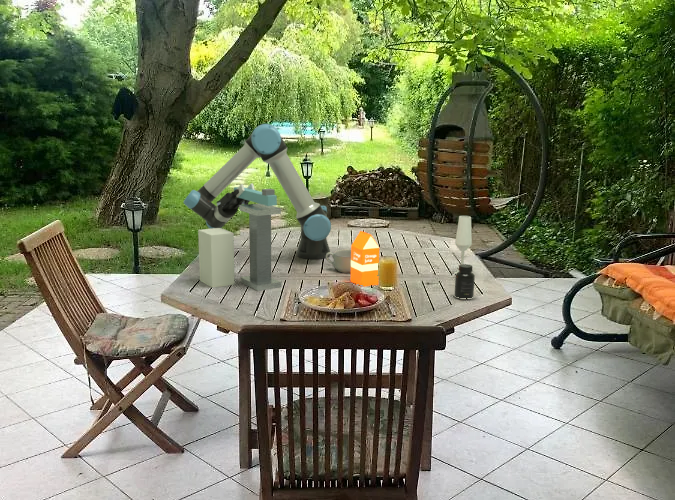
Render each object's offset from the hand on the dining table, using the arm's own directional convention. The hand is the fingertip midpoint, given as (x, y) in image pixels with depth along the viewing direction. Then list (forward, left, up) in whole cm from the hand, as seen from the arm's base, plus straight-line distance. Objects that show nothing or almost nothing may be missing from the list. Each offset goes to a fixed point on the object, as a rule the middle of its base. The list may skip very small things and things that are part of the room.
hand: (247, 187), depth 245 cm
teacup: (-38, -13, -37) cm, 54 cm away
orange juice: (-45, +6, -37) cm, 58 cm away
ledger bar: (-3, +5, -5) cm, 7 cm away
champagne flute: (-87, -7, -36) cm, 94 cm away
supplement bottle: (-79, +26, -37) cm, 91 cm away
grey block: (+12, +5, -36) cm, 38 cm away
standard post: (-5, +8, -36) cm, 37 cm away
